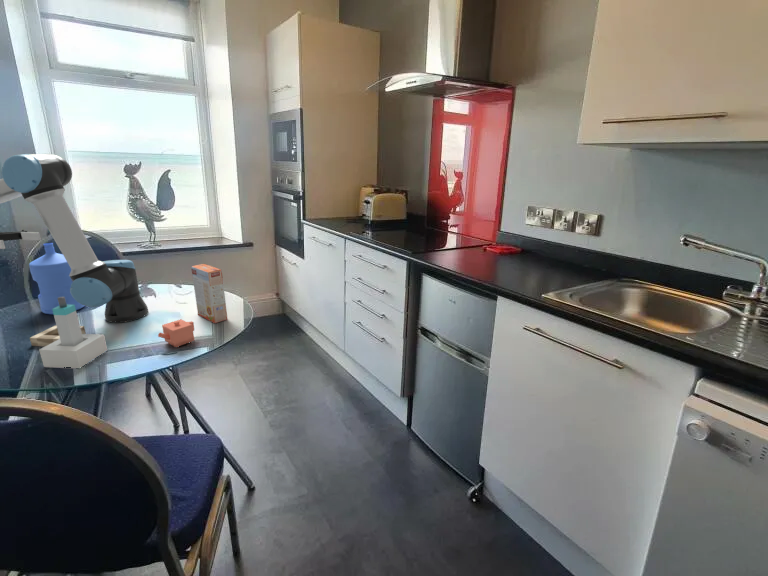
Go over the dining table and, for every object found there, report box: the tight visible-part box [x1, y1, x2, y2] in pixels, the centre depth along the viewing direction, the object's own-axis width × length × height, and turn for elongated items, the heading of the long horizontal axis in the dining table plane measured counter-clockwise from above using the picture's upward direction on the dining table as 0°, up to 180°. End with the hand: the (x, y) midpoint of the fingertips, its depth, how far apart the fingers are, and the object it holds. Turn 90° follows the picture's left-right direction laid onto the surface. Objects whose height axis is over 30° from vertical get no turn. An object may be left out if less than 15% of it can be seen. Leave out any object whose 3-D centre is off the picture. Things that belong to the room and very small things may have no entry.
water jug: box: [28, 242, 85, 315], centre depth 174 cm, size 16×16×28 cm
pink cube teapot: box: [157, 318, 196, 348], centre depth 145 cm, size 8×12×8 cm, turn 141°
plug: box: [52, 297, 84, 346], centre depth 132 cm, size 4×4×18 cm
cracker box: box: [190, 263, 228, 324], centre depth 166 cm, size 14×6×21 cm, turn 48°
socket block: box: [38, 333, 108, 369], centre depth 135 cm, size 12×12×6 cm
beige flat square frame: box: [29, 324, 87, 347], centre depth 149 cm, size 11×11×3 cm
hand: (22, 240), depth 142 cm, fingers open, 13 cm apart
